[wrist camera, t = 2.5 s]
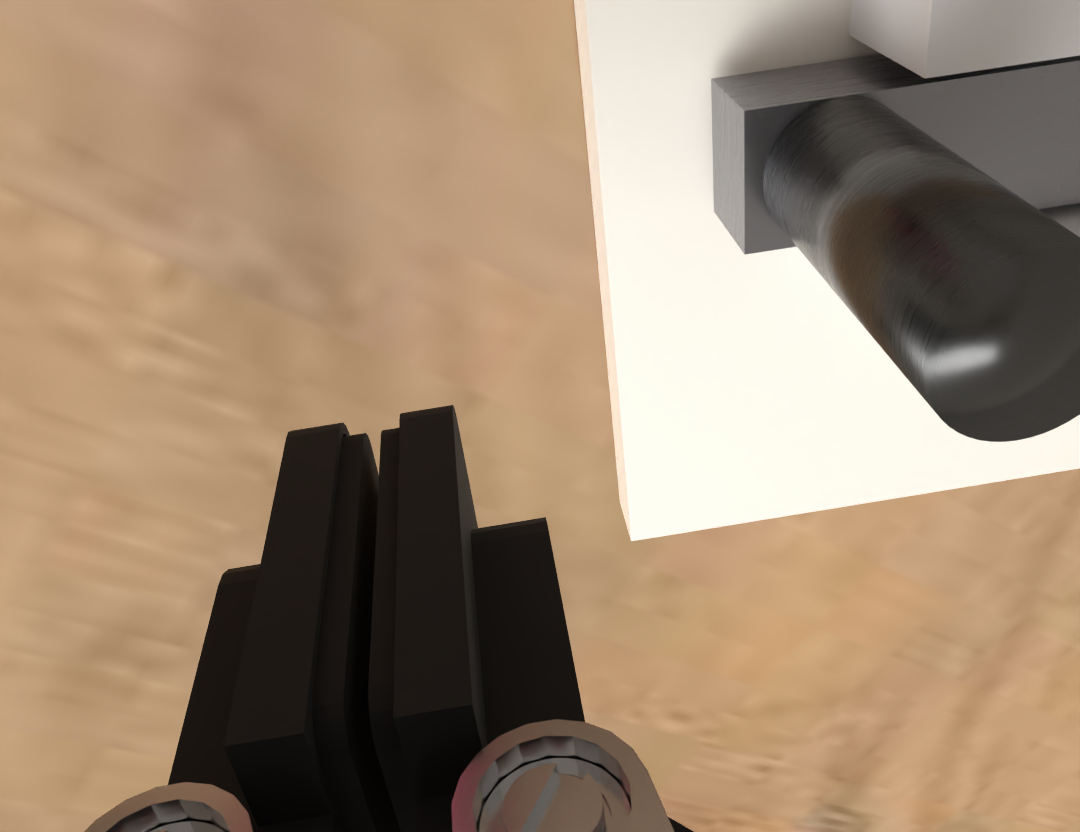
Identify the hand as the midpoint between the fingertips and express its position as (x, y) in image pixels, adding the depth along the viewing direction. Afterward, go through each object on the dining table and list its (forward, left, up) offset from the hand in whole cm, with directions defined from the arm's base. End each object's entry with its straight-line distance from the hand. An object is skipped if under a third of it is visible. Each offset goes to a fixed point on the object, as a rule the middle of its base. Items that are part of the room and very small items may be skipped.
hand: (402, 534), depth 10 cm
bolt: (-1, +11, -9) cm, 14 cm away
